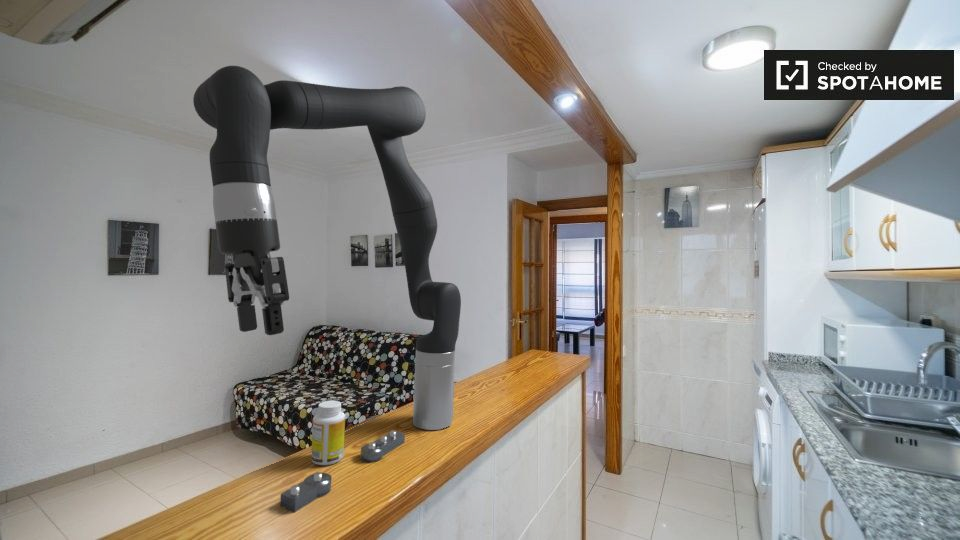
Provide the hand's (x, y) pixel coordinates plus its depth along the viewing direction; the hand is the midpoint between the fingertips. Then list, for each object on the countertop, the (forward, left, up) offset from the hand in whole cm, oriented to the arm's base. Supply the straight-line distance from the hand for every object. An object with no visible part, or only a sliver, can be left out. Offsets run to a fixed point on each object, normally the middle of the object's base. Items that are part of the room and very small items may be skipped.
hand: (261, 332), depth 56 cm
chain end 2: (-25, +4, -26) cm, 36 cm away
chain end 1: (-6, +4, -26) cm, 26 cm away
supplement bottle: (-17, -3, -26) cm, 31 cm away
